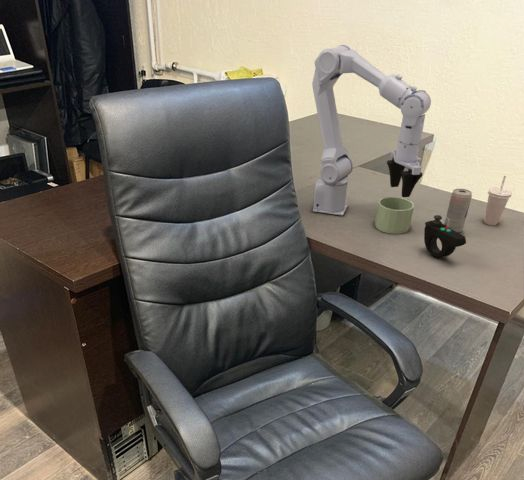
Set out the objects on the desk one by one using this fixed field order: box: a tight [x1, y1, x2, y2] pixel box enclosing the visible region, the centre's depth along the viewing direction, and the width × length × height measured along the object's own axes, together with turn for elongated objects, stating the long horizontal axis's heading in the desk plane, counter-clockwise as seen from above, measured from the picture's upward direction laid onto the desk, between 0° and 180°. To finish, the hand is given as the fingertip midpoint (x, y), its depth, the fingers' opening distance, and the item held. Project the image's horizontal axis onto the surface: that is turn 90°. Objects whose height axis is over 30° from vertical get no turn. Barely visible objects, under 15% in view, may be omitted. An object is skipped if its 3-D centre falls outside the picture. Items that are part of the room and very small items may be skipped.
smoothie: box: [484, 175, 513, 226], centre depth 153 cm, size 6×6×14 cm
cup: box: [374, 196, 415, 235], centre depth 152 cm, size 10×10×7 cm
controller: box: [423, 214, 467, 259], centre depth 137 cm, size 4×12×10 cm, turn 30°
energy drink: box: [443, 188, 473, 235], centre depth 148 cm, size 5×5×12 cm
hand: (399, 191), depth 148 cm, fingers open, 7 cm apart
